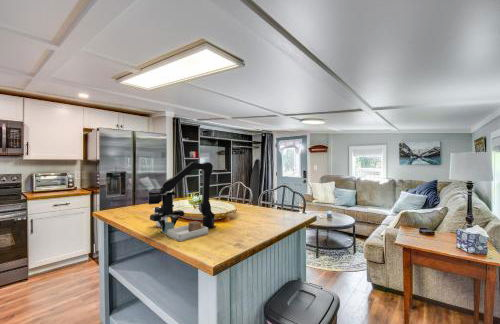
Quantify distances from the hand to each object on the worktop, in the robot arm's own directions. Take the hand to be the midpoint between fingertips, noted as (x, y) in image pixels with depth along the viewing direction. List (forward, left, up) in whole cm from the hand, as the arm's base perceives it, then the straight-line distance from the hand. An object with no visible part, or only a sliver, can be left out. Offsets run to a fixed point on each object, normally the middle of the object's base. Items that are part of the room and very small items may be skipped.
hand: (167, 230), depth 144 cm
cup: (-4, -15, -1) cm, 16 cm away
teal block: (0, 0, -1) cm, 1 cm away
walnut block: (-10, +13, 0) cm, 16 cm away
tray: (-5, +13, -1) cm, 14 cm away
